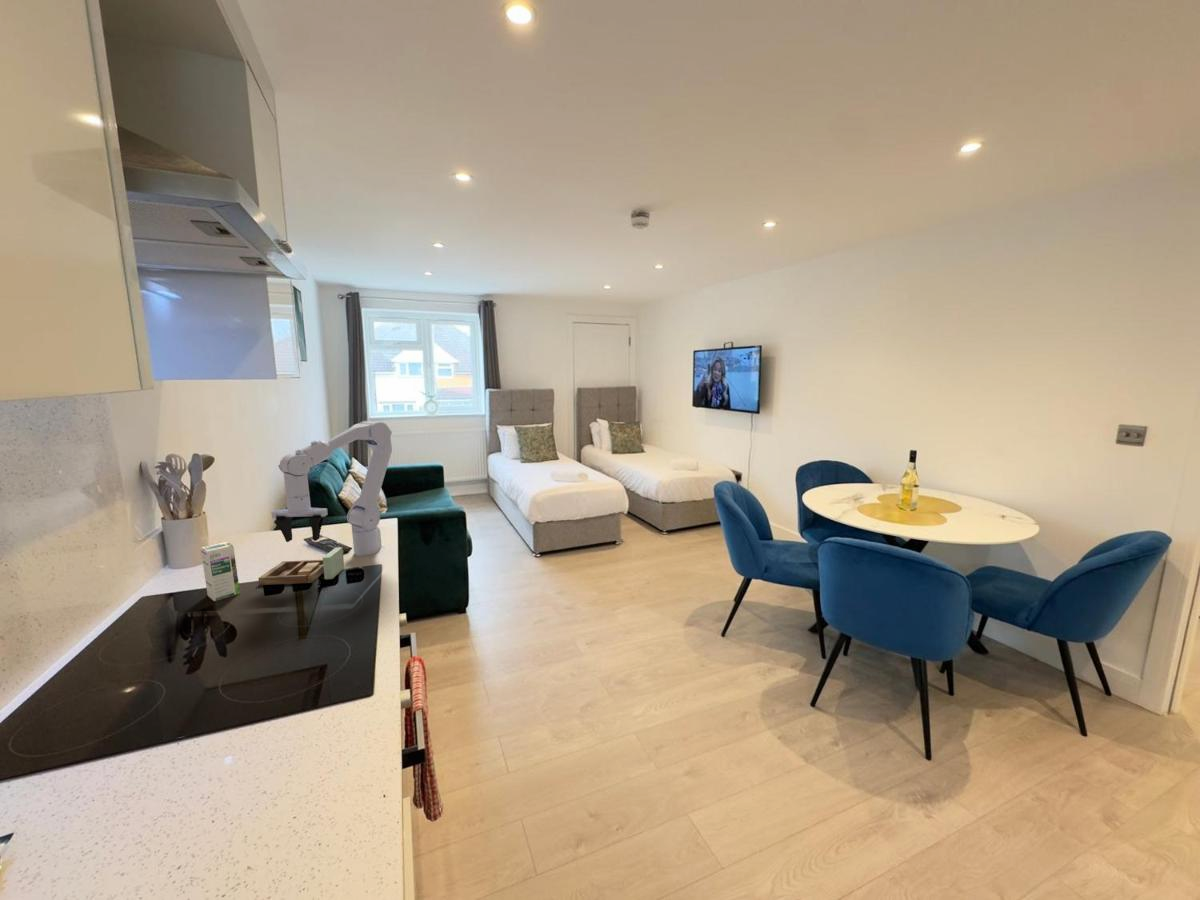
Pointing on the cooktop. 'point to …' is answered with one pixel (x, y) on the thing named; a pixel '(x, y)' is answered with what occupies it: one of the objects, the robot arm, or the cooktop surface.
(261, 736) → the cooktop surface
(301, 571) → the offcut stack
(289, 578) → the rack
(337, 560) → the pale green flat block
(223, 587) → the syrup box
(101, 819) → the cooktop surface
